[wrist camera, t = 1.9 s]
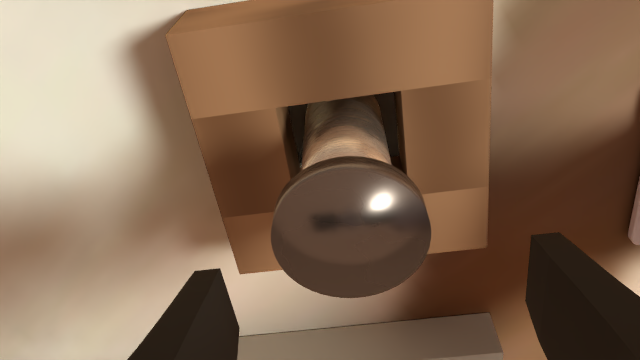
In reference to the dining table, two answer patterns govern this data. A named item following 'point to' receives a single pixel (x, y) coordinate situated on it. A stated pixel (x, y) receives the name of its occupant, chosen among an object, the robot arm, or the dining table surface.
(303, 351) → the tray
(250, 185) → the brown square frame
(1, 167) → the dining table surface
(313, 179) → the pin
